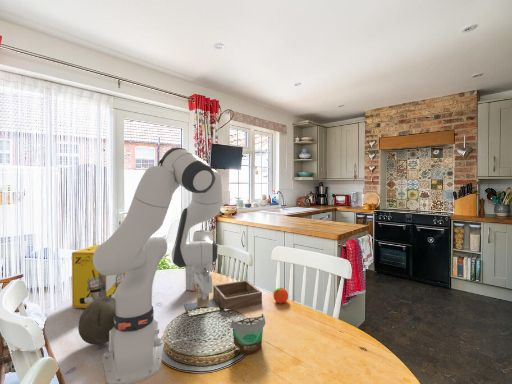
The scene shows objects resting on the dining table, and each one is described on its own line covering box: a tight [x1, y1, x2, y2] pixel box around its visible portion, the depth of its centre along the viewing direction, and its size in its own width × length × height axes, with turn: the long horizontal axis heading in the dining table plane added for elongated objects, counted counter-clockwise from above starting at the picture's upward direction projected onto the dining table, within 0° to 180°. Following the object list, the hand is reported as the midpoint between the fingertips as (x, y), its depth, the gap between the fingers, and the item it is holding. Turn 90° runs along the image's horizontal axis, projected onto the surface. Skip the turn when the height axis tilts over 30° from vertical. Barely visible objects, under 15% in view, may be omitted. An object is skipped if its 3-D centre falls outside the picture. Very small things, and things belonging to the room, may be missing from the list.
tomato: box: [272, 287, 289, 304], centre depth 124 cm, size 8×7×7 cm
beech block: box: [196, 284, 210, 307], centre depth 119 cm, size 4×4×9 cm
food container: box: [230, 313, 266, 355], centre depth 88 cm, size 12×6×10 cm, turn 114°
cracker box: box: [185, 266, 197, 292], centre depth 145 cm, size 14×6×21 cm, turn 156°
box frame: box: [212, 279, 263, 311], centre depth 128 cm, size 18×18×6 cm
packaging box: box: [71, 244, 127, 309], centre depth 127 cm, size 16×16×25 cm
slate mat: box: [183, 298, 221, 312], centre depth 119 cm, size 12×14×1 cm
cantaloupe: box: [77, 296, 116, 346], centre depth 93 cm, size 14×14×15 cm
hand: (202, 296), depth 119 cm, fingers closed on beech block, 4 cm apart
